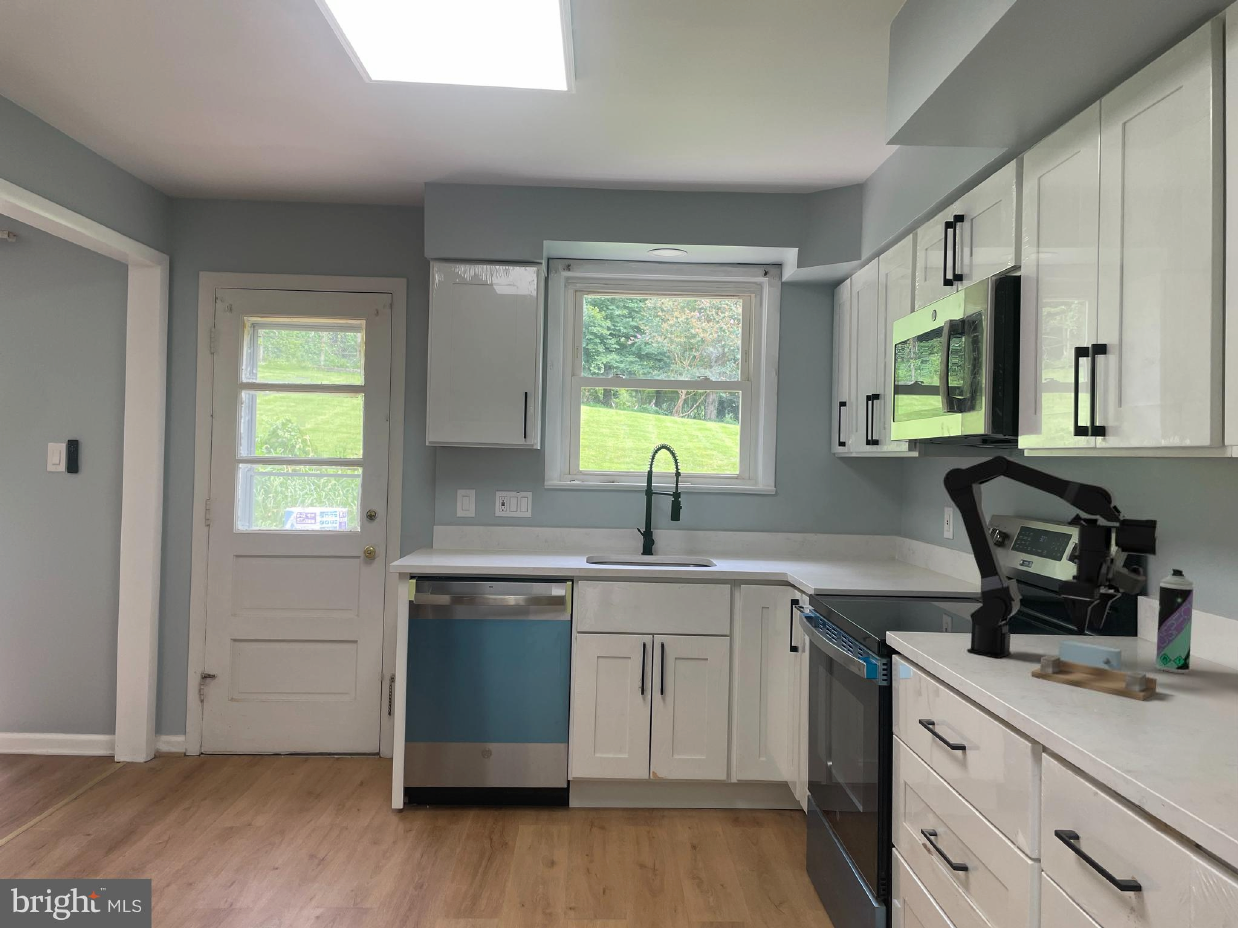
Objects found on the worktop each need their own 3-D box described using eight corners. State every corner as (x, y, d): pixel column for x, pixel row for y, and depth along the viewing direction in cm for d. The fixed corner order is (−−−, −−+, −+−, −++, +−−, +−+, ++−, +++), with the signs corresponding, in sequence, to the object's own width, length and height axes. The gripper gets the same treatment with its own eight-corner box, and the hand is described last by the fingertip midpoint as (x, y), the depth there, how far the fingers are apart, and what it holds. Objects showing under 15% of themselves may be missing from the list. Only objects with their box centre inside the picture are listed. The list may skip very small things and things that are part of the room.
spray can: (1149, 666, 164) (1154, 567, 163) (1169, 665, 165) (1174, 567, 165) (1175, 674, 158) (1180, 571, 158) (1195, 672, 160) (1200, 571, 160)
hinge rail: (1031, 676, 152) (1032, 657, 152) (1047, 670, 157) (1048, 651, 157) (1142, 700, 139) (1143, 679, 139) (1155, 692, 144) (1156, 672, 144)
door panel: (1056, 667, 161) (1057, 642, 161) (1063, 664, 163) (1065, 639, 163) (1113, 679, 153) (1114, 652, 153) (1120, 676, 156) (1121, 649, 156)
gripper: (1126, 558, 146) (1121, 645, 146) (1156, 552, 159) (1152, 632, 159) (1059, 550, 154) (1054, 633, 154) (1093, 546, 167) (1089, 622, 167)
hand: (1089, 630), depth 158 cm, fingers open, 9 cm apart
